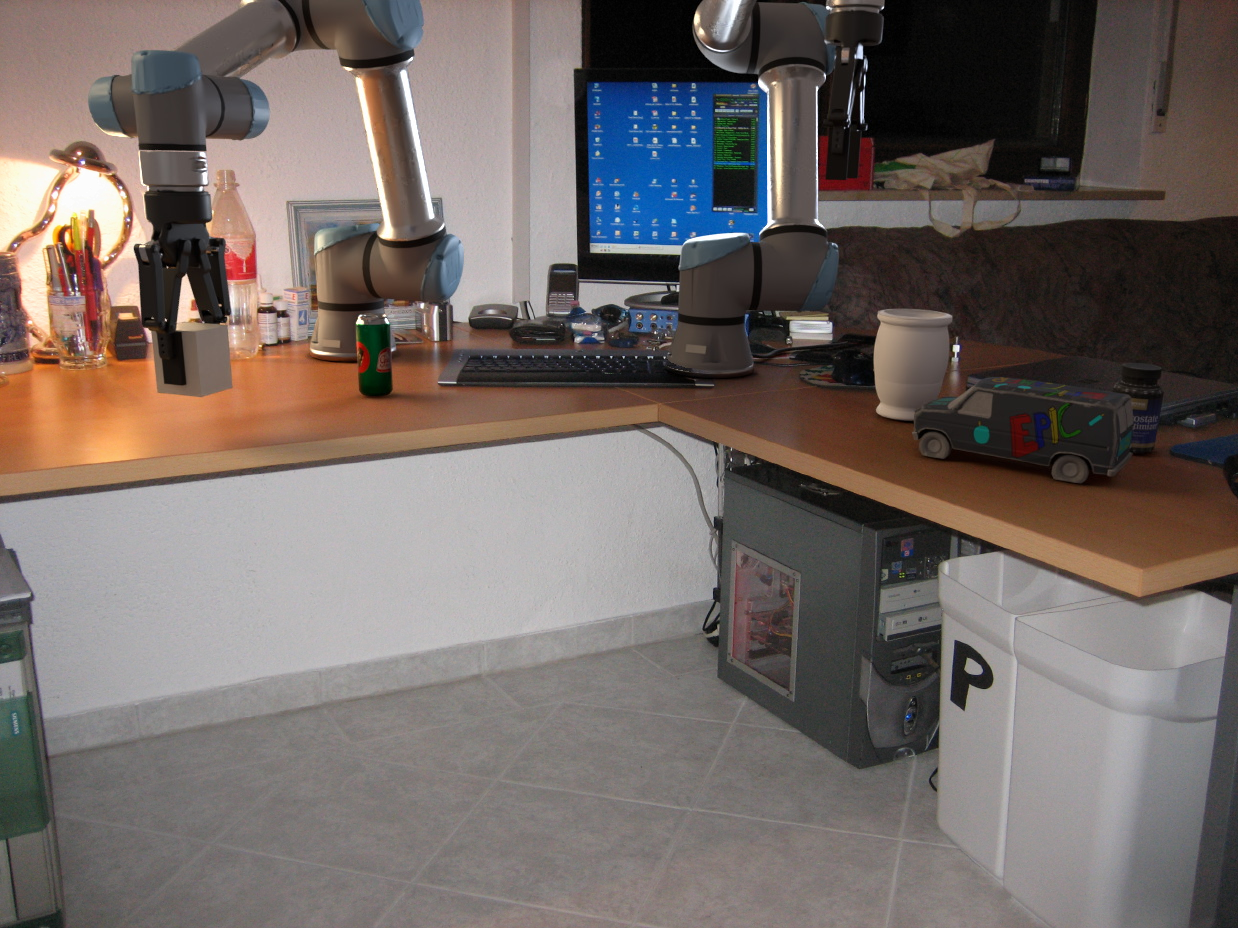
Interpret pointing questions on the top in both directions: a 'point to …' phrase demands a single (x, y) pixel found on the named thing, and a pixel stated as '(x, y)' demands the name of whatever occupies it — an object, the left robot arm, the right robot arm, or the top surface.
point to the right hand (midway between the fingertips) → (842, 179)
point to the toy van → (1032, 426)
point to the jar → (910, 360)
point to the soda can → (374, 355)
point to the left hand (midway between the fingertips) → (193, 378)
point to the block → (199, 360)
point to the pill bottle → (1142, 402)
